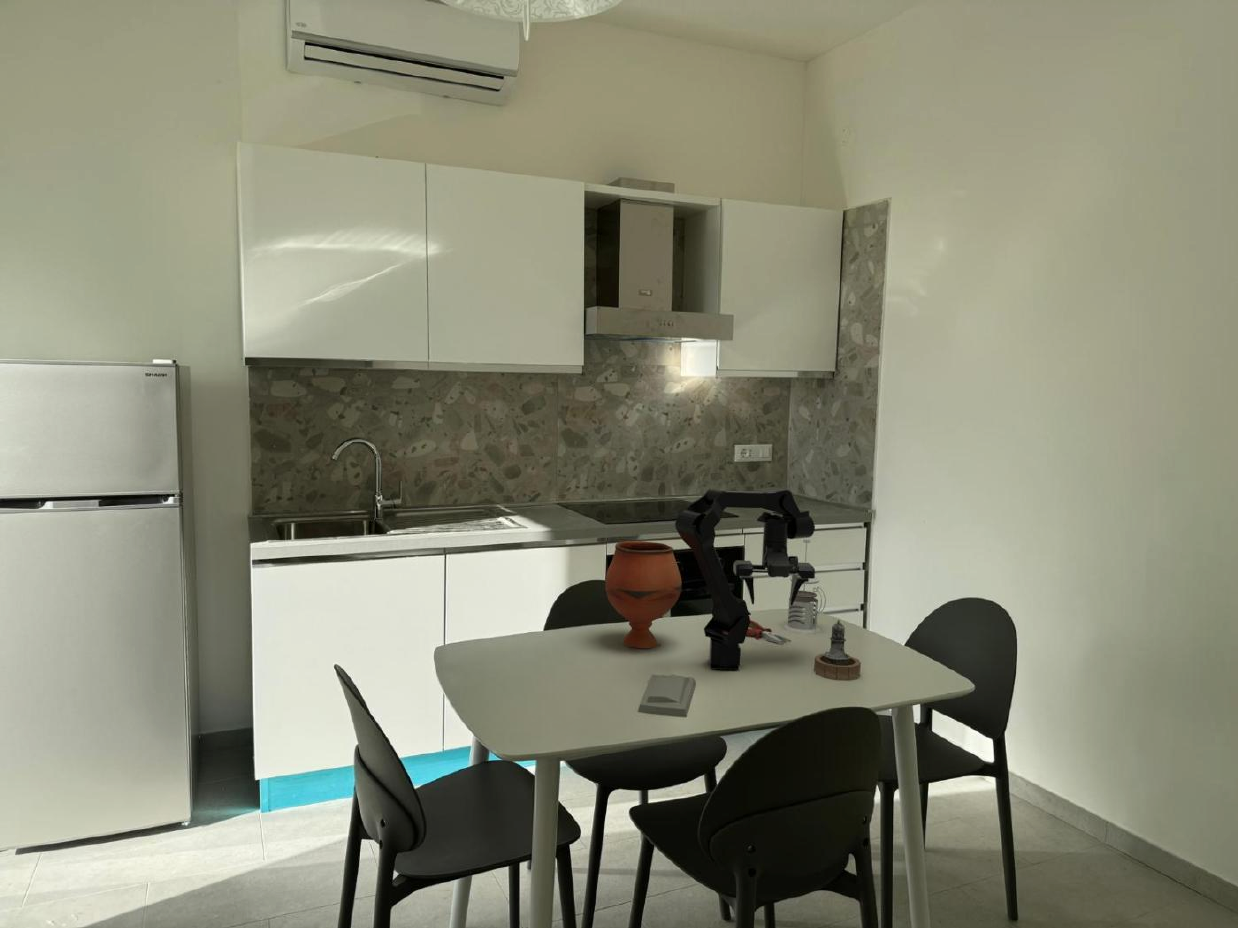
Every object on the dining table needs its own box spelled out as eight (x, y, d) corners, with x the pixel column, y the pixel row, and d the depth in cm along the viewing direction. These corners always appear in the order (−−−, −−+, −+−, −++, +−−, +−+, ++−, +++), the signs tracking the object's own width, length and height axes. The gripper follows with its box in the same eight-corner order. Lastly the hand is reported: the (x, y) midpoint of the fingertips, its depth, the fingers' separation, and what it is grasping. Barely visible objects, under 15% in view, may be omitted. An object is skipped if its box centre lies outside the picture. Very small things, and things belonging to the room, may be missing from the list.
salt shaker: (818, 670, 207) (820, 619, 206) (832, 664, 211) (834, 614, 210) (840, 676, 203) (843, 624, 202) (854, 671, 207) (857, 620, 206)
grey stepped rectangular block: (696, 686, 196) (697, 671, 195) (687, 720, 176) (688, 702, 176) (650, 682, 197) (650, 666, 197) (635, 714, 178) (636, 697, 177)
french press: (799, 621, 251) (804, 533, 249) (833, 631, 242) (838, 540, 240) (776, 627, 245) (780, 536, 243) (810, 637, 236) (815, 543, 234)
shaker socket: (819, 679, 202) (820, 666, 202) (810, 665, 212) (811, 652, 212) (864, 680, 202) (865, 667, 202) (853, 666, 212) (853, 654, 212)
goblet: (669, 658, 213) (673, 555, 211) (592, 649, 218) (595, 548, 216) (686, 637, 231) (690, 542, 229) (614, 629, 236) (617, 536, 234)
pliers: (772, 650, 225) (772, 640, 224) (714, 631, 240) (714, 622, 240) (801, 643, 232) (801, 633, 232) (743, 625, 247) (743, 616, 247)
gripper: (740, 545, 206) (737, 611, 208) (821, 547, 206) (818, 614, 208) (734, 537, 217) (731, 600, 219) (811, 539, 217) (808, 602, 219)
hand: (771, 604), depth 216 cm, fingers open, 9 cm apart
